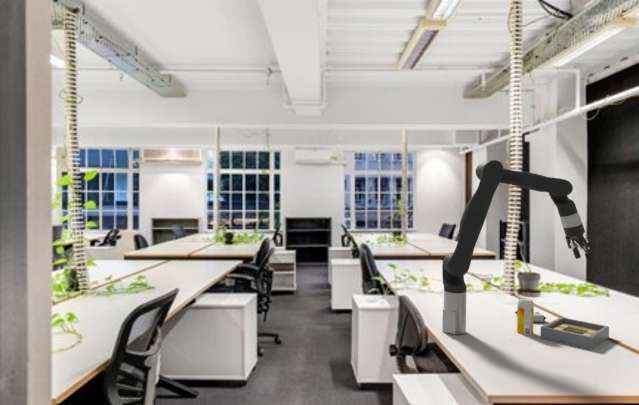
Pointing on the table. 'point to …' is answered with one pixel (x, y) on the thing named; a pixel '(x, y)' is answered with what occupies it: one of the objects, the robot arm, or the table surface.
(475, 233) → the robot arm
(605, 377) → the table surface
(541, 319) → the robot toy
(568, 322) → the open-top box
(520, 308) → the beer can
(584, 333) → the plate
